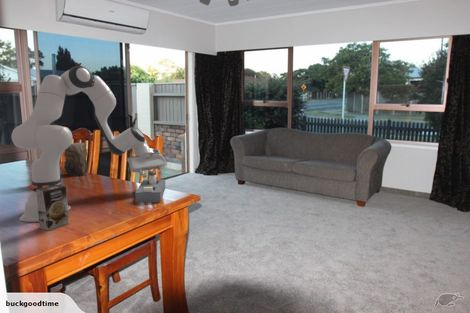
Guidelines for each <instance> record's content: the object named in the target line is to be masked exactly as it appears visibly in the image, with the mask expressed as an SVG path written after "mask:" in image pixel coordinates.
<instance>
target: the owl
mask: <svg viewBox="0 0 470 313" xmlns="http://www.w3.org/2000/svg"><path fill="white" fill-rule="evenodd" d="M86 146H87V144H86V142H73V143H71V145H70V146H69V147H68V148H67V149H66V150H65V151H64V152H63V155H64V157H65V159H66V160H65V161H64V166H63V168H64V170H65V172H66V175H67V176H74V177H75V176H78V177H79V176H80V177H82V176H85V175H86V174H87V172H88V165H89V164H88V160H87V156H88V149H87V148H86Z"/></svg>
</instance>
